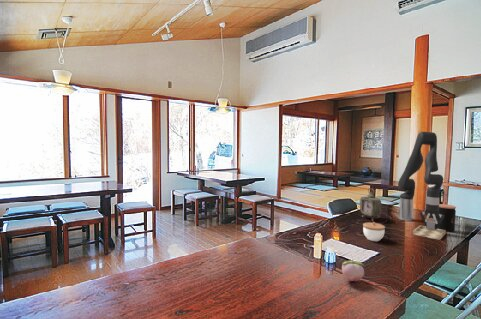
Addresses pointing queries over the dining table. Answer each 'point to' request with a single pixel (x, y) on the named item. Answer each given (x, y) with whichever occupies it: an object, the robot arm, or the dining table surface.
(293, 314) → the dining table surface
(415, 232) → the tray
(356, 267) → the decorative fruit
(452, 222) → the coffee jar
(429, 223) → the gray cube
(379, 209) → the tabletop clock
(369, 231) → the lidded bowl
